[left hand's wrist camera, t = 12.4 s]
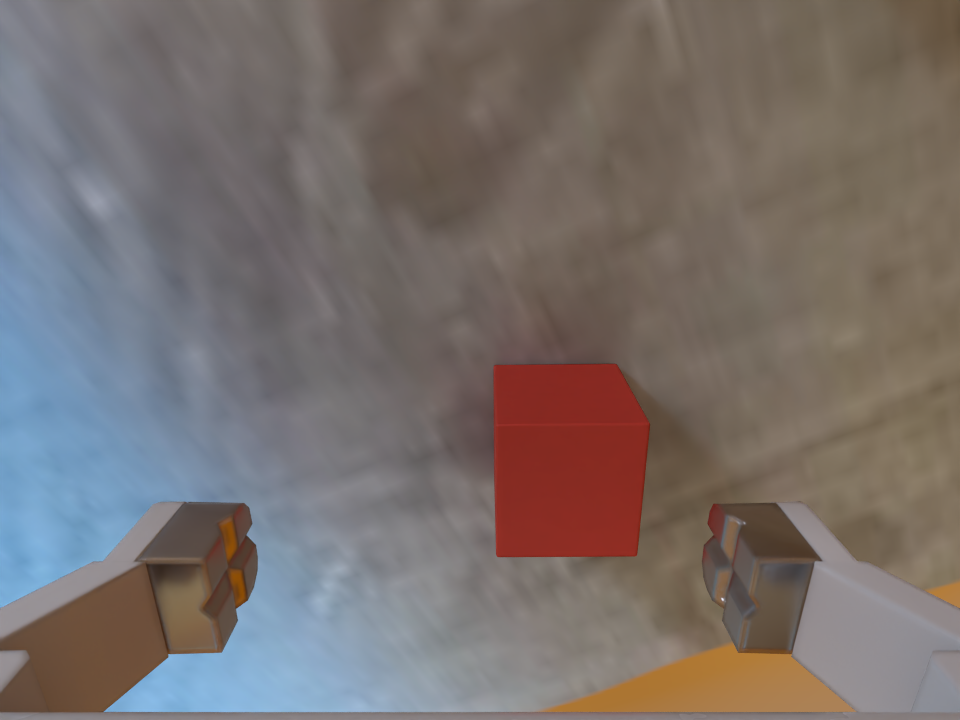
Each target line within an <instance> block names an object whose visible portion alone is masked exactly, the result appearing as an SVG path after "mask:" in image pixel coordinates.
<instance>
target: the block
mask: <svg viewBox="0 0 960 720" xmlns="http://www.w3.org/2000/svg"><path fill="white" fill-rule="evenodd" d="M649 430H650V423H649V421H648V419H647V418H646V416H645V414H644V412H643V411H642V409H641V407H640V405H639V403H638V402H637V400H636V398H635V396H634V394H633V393H632V391H631V389H630V387H629V385H628V384H627V382H626V380H625V378H624V376H623V375H622V373H621V371H620V369H619V367H618V366H617V364H558V365H495V366H494V486H495V527H496V555H497V557H605V556H637V551H638V541H639V531H640V521H641V511H642V501H643V491H644V480H645V470H646V460H647V450H648V440H649Z"/></svg>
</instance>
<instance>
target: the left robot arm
mask: <svg viewBox="0 0 960 720" xmlns="http://www.w3.org/2000/svg"><path fill="white" fill-rule="evenodd" d="M251 525H252V519H251V514H250V510H249V507H248V506H247V505H246V504H245V503H218V502H188V503H187V502H159V503H156V504H153V505H152V506H151V507H150V508H149V509H148V511H147V512H146V513H145V514H144V515H143V516H142V517H141V519H140V520H139V521H138V522H137V523H136V524H135V525H134V527H133V528H132V529H131V530H130V531H129V532H128V533H127V534H126V536H125V537H124V538H123V539H122V540H121V541H120V542H119V544H118V545H117V546H116V547H115V548H114V549H113V550H112V551H111V553H110V554H109V555H108V556H107V557H106V558H105V559H104V561H103V562H91V563H89V564H87V565H85V566H83V567H81V568H79V569H77V570H76V571H74V572H72V573H70V574H68V575H66V576H64V577H62V578H60V579H58V580H56V581H54V582H52V583H50V584H48V585H46V586H44V587H42V588H40V589H38V590H36V591H34V592H32V593H30V594H28V595H26V596H24V597H22V598H20V599H18V600H16V601H14V602H12V603H10V604H8V605H6V606H4V607H2V608H0V720H960V608H958V607H956V606H954V605H952V604H950V603H948V602H946V601H944V600H942V599H940V598H938V597H936V596H934V595H932V594H930V593H928V592H926V591H924V590H922V589H920V588H918V587H916V586H914V585H912V584H910V583H908V582H906V581H904V580H902V579H900V578H898V577H896V576H894V575H892V574H890V573H888V572H886V571H884V570H882V569H880V568H878V567H877V566H875V565H873V564H871V563H869V562H857V561H856V559H855V558H854V557H853V556H852V555H851V554H850V553H849V551H848V550H847V549H846V548H845V547H844V546H843V545H842V544H841V542H840V541H839V540H838V539H837V538H836V537H835V536H834V534H833V533H832V532H831V531H830V530H829V529H828V528H827V527H826V525H825V524H824V523H823V522H822V521H821V520H820V519H819V517H818V516H817V515H816V514H815V513H814V512H813V511H812V510H811V508H810V507H809V506H808V505H807V504H805V503H802V502H800V501H796V502H771V503H734V504H713V506H712V508H711V510H710V513H709V519H708V525H709V527H710V529H711V531H712V532H713V534H714V535H713V536H712V537H711V538H710V540H709V541H708V542H707V543H706V544H705V545H704V550H703V558H702V566H703V577H704V581H705V584H706V588H707V590H708V592H709V595H710V597H711V599H712V601H714V602H715V603H717V604H718V605H719V606H721V607H722V608H724V613H723V619H722V621H723V623H724V625H725V627H726V629H727V631H728V633H729V635H730V637H731V639H732V641H733V643H734V645H735V647H736V649H737V651H738V652H739V653H770V654H792V657H793V658H794V659H795V660H796V661H797V662H798V663H800V664H801V665H802V666H803V667H804V668H806V669H807V670H808V671H809V672H810V673H811V674H813V675H814V676H815V677H816V678H817V679H819V680H820V681H821V682H822V683H823V684H825V685H826V686H827V687H828V688H829V689H830V690H832V691H833V692H834V693H835V694H836V695H838V696H839V697H840V698H841V699H842V700H843V701H845V702H846V703H847V704H848V705H849V706H851V707H852V708H853V709H854V710H855V711H857V712H104V711H105V710H106V709H107V708H108V707H110V706H111V705H112V704H113V703H114V702H116V701H117V700H118V699H119V698H120V697H121V696H123V695H124V694H125V693H126V692H127V691H129V690H130V689H131V688H132V687H133V686H135V685H136V684H137V683H138V682H139V681H140V680H142V679H143V678H144V677H145V676H146V675H148V674H149V673H150V672H151V671H152V670H154V669H155V668H156V667H157V666H158V665H159V664H161V663H162V662H163V661H164V660H165V659H167V658H168V654H189V653H222V651H223V649H224V647H225V645H226V643H227V641H228V639H229V637H230V635H231V633H232V631H233V629H234V627H235V625H236V623H237V621H238V619H237V613H236V608H238V607H239V606H241V605H242V604H243V603H245V602H246V601H248V599H249V597H250V594H251V592H252V590H253V588H254V584H255V580H256V575H257V570H258V556H257V549H256V545H255V544H254V543H253V542H252V541H251V540H250V539H249V537H248V536H247V535H246V534H247V532H248V531H249V529H250V527H251Z"/></svg>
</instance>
